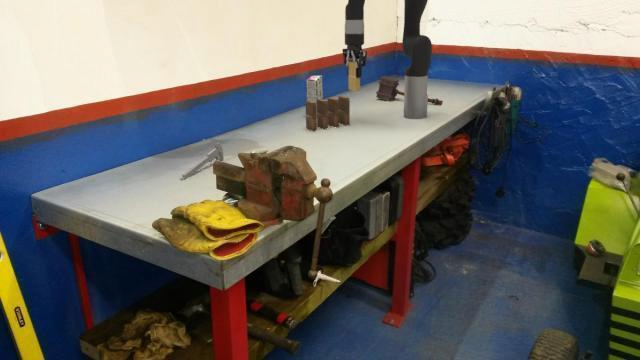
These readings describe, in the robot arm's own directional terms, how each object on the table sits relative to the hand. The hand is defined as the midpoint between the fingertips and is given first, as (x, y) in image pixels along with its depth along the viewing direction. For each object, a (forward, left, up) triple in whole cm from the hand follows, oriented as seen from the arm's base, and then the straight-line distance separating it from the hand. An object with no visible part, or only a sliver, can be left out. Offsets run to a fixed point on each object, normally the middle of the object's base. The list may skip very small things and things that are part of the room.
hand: (354, 76), depth 200 cm
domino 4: (+4, +2, -19) cm, 19 cm away
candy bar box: (+16, -14, -19) cm, 28 cm away
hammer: (-29, -38, -19) cm, 51 cm away
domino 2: (+13, +7, -19) cm, 24 cm away
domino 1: (+17, +10, -19) cm, 27 cm away
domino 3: (+9, +5, -19) cm, 21 cm away
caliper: (+50, +55, -19) cm, 77 cm away
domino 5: (0, 0, -6) cm, 6 cm away
